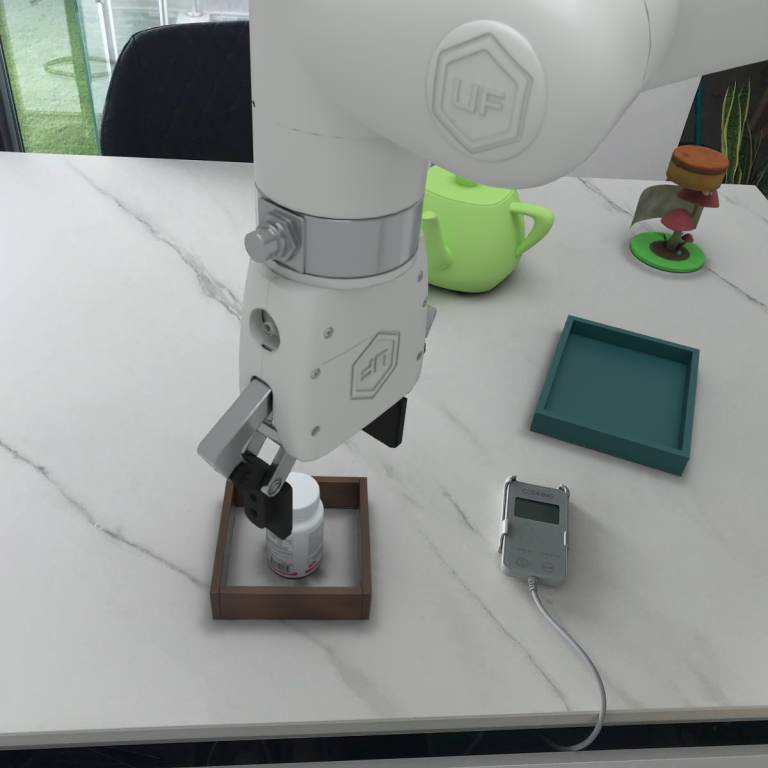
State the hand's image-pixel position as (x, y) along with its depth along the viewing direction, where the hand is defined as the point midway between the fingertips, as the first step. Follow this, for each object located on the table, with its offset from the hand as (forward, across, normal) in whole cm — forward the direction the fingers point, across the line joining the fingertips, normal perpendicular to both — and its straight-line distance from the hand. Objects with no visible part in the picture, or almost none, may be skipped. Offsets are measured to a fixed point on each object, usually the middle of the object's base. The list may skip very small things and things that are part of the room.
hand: (327, 477), depth 46 cm
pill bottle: (+21, +6, +8) cm, 23 cm away
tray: (+20, +46, -3) cm, 50 cm away
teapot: (+21, +54, +26) cm, 63 cm away
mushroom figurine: (+21, +82, +6) cm, 85 cm away
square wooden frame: (+20, +6, +8) cm, 23 cm away
